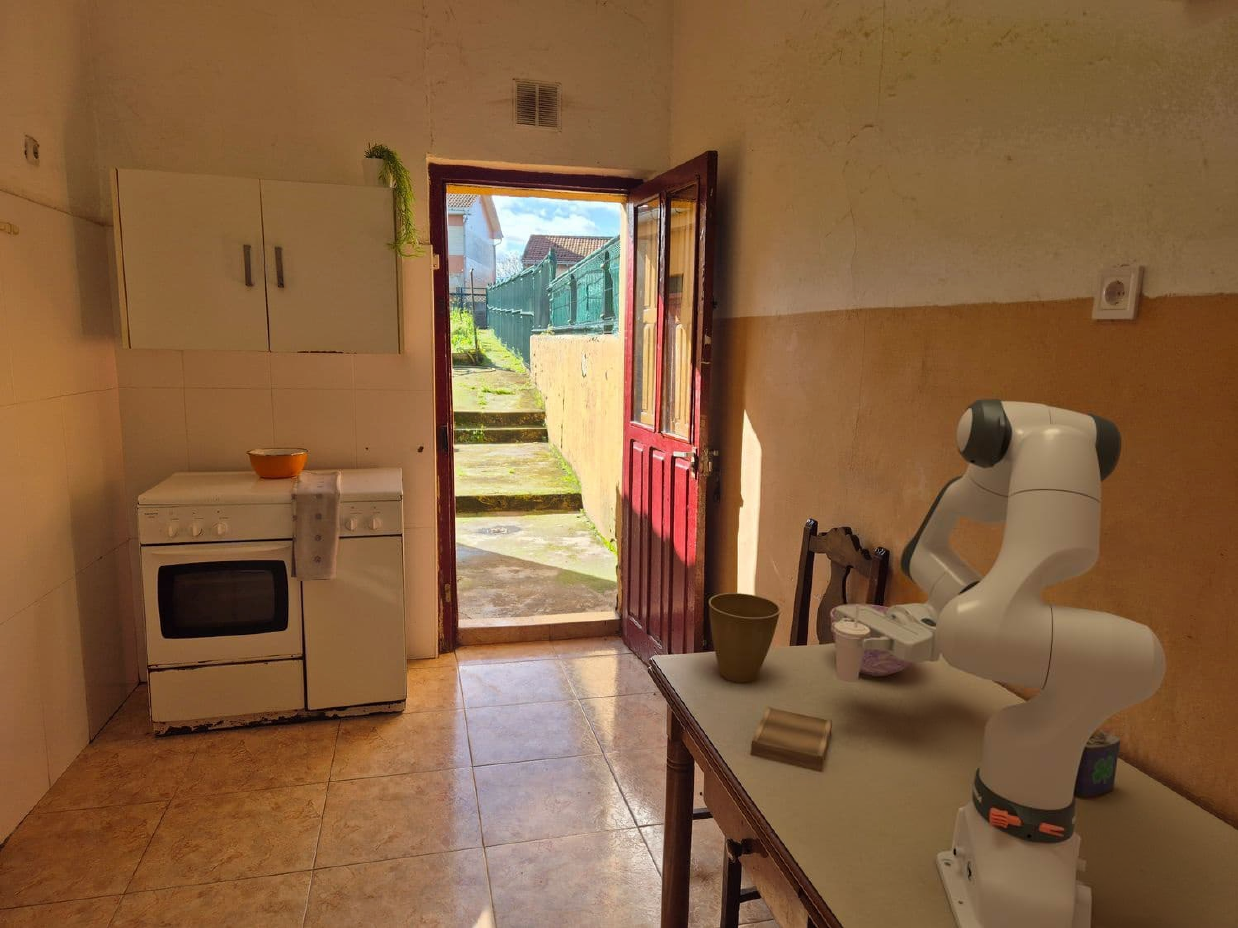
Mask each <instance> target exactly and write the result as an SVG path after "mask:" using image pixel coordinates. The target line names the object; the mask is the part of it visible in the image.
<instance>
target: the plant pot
mask: <svg viewBox="0 0 1238 928" xmlns="http://www.w3.org/2000/svg"><path fill="white" fill-rule="evenodd" d="M708 609H709V611H708V612H709V622H710V623H709V624H710V631H711V638H712V644H713V647H714V653H715V657H716V660H717V664H718V669H719V671H720V674H721V676H722V677H723V678H724V679H726V680H728V681H730V682H734V683H741V684H742V683H743V684H744V683H745V684H746V683H750V682H753V681H755V680H756V678H757V676H758V674H759V673H760V670H761V668H762V667H763V664H764V662H765V660H766V657H767V655H768V653H769V650H770V647H771V644H772V642H773V639H774V636H775V632H776V630H777V629H776V628H777V626H778V625H777V624H778V621H779V617H780V613H781V606H780V605H778V603H776V602H775V601H773V600H771V599H769V598H765V597H762V596H758V595H755V594H750V593H749V594H748V593H740V592H725V593H719V594H716V595H714V596H712V597H710V598H709V600H708Z"/></svg>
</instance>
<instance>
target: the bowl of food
mask: <svg viewBox="0 0 1238 928" xmlns="http://www.w3.org/2000/svg"><path fill="white" fill-rule="evenodd" d="M855 605H860V606H868V607H871V608H873V609H875V610H877V611H879V612H882V613H884V614H885V613H886V611H887V610H888V609H889V608H890V607H888V606H884V605H883V606H882V605H877V604H870V603H869V604H867V603H848V604H842V605H841V604H840V605H838V606H835V607H833V608H832V609H831V610H830V612H829V616H830V622H831V624H832V623H833V622H834V620H835V610H836V608H837V607H839V606H855ZM832 635H833V636H832V637H833V641H834V646H835V647H834V648H836V639H835V633H834V632H832ZM910 664H911V662H905V661H902V660H901V659H899V658H897V657H895V656H893V655H891V654H889V653H887V652H886V651H881V650H875V649H867V650H865V651H864V655H863V659H862V663H861V667H860V671H859V673H861V674H864V675H867V676H873V677H874V676H875V677H884V676H888V675H889V674H891V675H892V674H895V673H899V672H901V671H903V670H904V669H906V668H907V667H908V666H909V665H910Z"/></svg>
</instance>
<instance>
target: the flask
mask: <svg viewBox="0 0 1238 928" xmlns="http://www.w3.org/2000/svg"><path fill="white" fill-rule="evenodd" d="M1096 731H1097V732H1098V734H1096V735H1095V736H1094V738H1091V739H1090V738H1089V740H1088V742H1087V743H1086V745H1085V748H1084V750H1083V753H1082V757H1081V760H1080V764H1079V768H1078V772H1077V777H1076V782H1075V787H1074V793H1073V795H1074V796H1075V799H1079V800H1089V799H1094V798H1099V797H1101V796H1104V795H1107V794H1108V793H1111V792H1112V791H1113V789H1114V786H1115V779H1116V772H1117V771H1116V770H1117V766H1118V759H1119V752H1120V746H1121V738H1119V737H1118V736H1116V735H1114V734H1110V733H1109V734H1108V733H1107V732H1106V731H1103V730H1102V729H1098V728H1097V729H1096Z"/></svg>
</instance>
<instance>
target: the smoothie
mask: <svg viewBox="0 0 1238 928" xmlns="http://www.w3.org/2000/svg"><path fill="white" fill-rule="evenodd" d="M858 613H859V605H856V610H855V620H854V622H848V621H843V622H838V623H836V624H835V625H834V632H835V639H836V647H835V661H836V667H835V668H836V677H837V678H838V679H839V680H840V681H843V682H848V683H855V682H857V681H858V680H859V676H860V672H859V671H860V667H861V663H862V659H863V655H864V651H865V649H863V648H862V647H860V646H859V643H860V642H859V639H860V638H861V637H869V636H870V629H869V628H868V627H867V626H865V625H863V624H860V623H857V622H858Z"/></svg>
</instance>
